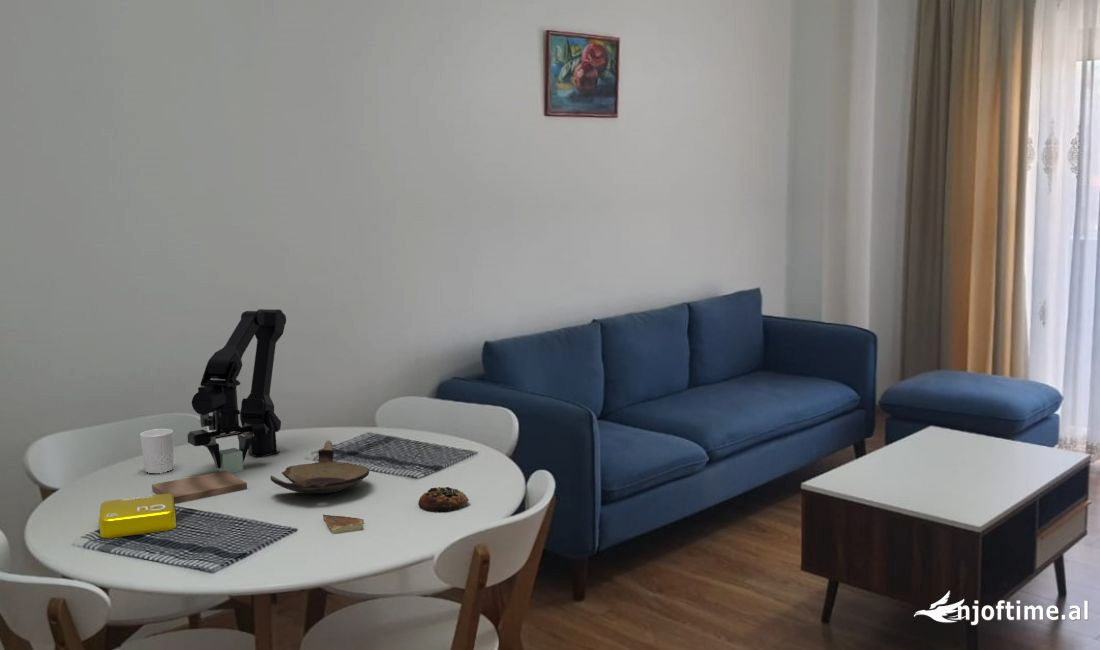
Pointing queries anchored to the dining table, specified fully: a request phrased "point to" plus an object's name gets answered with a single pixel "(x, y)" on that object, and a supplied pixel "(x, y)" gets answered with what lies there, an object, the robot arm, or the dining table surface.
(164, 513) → the element tile
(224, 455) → the sage cube
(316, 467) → the oil lamp
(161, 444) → the white cup
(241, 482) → the walnut board
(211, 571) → the dining table surface
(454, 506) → the bread roll
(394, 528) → the dining table surface
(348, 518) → the shard
